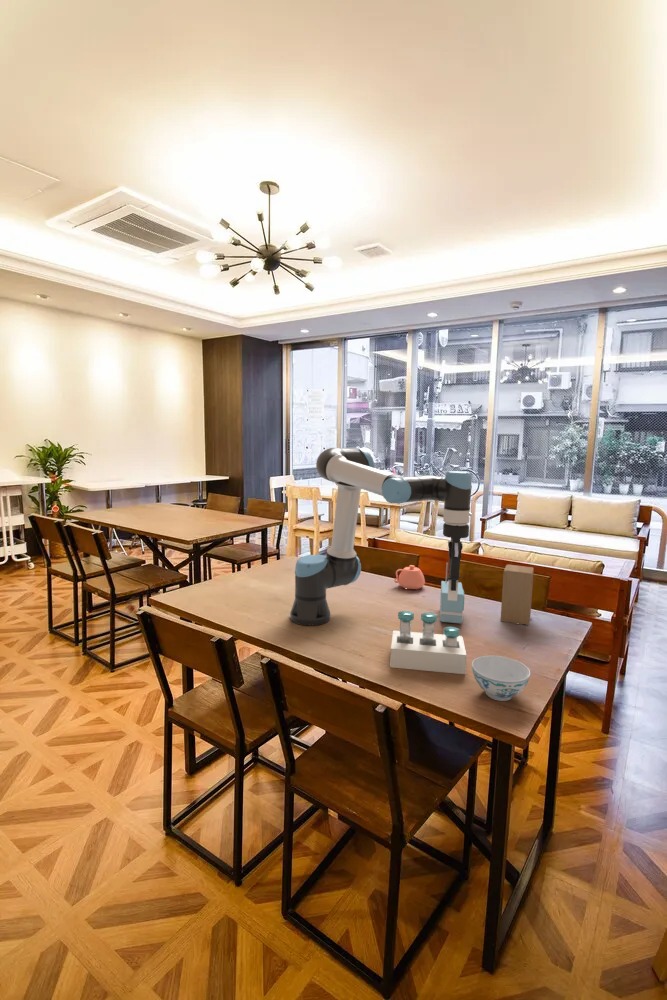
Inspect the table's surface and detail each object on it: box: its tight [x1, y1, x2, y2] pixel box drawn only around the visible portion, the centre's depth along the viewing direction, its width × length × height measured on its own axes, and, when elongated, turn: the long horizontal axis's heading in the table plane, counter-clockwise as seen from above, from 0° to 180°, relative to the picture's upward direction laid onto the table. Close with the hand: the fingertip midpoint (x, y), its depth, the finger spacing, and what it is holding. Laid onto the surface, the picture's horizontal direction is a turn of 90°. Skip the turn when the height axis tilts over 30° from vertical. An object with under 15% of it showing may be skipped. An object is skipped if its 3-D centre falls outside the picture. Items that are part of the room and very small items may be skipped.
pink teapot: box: [393, 564, 426, 590], centre depth 230 cm, size 12×14×10 cm
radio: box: [439, 562, 465, 624], centre depth 193 cm, size 16×9×20 cm, turn 168°
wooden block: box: [500, 564, 535, 626], centre depth 192 cm, size 10×10×20 cm
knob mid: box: [420, 612, 438, 646], centre depth 155 cm, size 5×5×9 cm
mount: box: [389, 630, 467, 675], centre depth 156 cm, size 22×14×6 cm, turn 80°
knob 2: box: [443, 626, 461, 648], centre depth 155 cm, size 5×5×9 cm
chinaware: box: [471, 655, 531, 702], centre depth 136 cm, size 15×15×8 cm
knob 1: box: [397, 610, 415, 644], centre depth 156 cm, size 5×5×9 cm
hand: (452, 599), depth 153 cm, fingers closed
